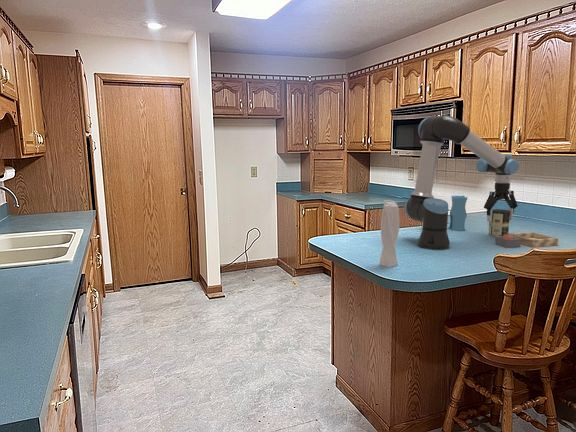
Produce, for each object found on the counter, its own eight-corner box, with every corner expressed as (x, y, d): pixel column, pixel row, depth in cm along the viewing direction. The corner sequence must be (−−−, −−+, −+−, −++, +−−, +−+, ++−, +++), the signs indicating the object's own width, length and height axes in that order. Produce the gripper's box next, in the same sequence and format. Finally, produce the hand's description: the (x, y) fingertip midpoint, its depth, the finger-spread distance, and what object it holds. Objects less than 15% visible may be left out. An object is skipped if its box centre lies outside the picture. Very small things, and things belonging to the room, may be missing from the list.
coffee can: (505, 233, 244) (507, 209, 242) (510, 237, 234) (512, 212, 232) (485, 233, 246) (487, 208, 244) (490, 236, 236) (492, 211, 234)
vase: (465, 231, 252) (467, 197, 249) (451, 230, 253) (453, 197, 250) (462, 228, 260) (464, 195, 256) (448, 228, 261) (450, 195, 257)
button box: (506, 247, 211) (507, 239, 210) (495, 244, 219) (495, 236, 218) (520, 246, 213) (520, 239, 212) (508, 243, 221) (509, 235, 220)
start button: (507, 244, 213) (507, 236, 212) (500, 242, 217) (501, 234, 217) (514, 243, 214) (515, 236, 214) (508, 241, 218) (508, 234, 218)
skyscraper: (388, 268, 176) (391, 201, 171) (374, 264, 182) (377, 199, 177) (401, 265, 180) (404, 199, 176) (387, 261, 186) (390, 197, 182)
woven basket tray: (531, 247, 212) (532, 240, 212) (507, 240, 228) (508, 233, 227) (557, 245, 216) (558, 238, 216) (532, 238, 232) (533, 232, 231)
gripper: (487, 183, 229) (485, 222, 232) (526, 182, 235) (523, 220, 238) (478, 182, 236) (475, 220, 239) (516, 181, 242) (513, 218, 246)
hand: (499, 220), depth 239 cm, fingers open, 13 cm apart
